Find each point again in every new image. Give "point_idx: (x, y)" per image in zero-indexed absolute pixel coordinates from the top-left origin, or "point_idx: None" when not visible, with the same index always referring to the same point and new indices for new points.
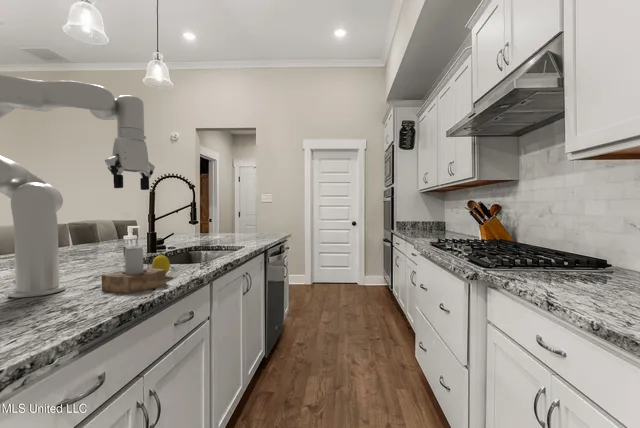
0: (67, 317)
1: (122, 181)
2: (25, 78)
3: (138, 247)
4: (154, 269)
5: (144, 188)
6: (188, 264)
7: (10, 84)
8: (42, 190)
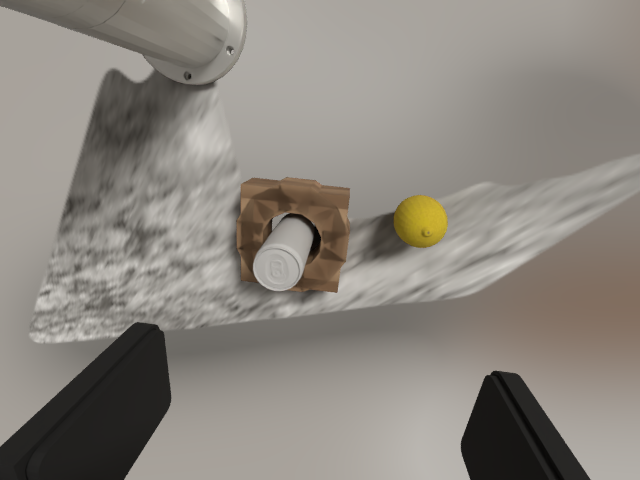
0: (117, 275)
1: (120, 466)
2: None
3: (290, 274)
4: (334, 264)
5: (474, 426)
6: None
7: None
8: None
